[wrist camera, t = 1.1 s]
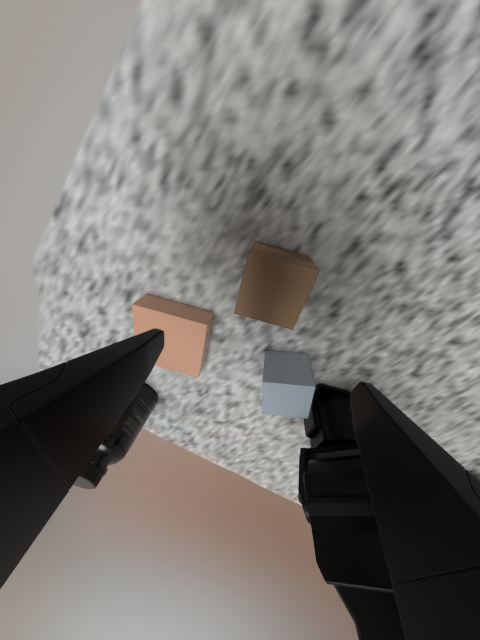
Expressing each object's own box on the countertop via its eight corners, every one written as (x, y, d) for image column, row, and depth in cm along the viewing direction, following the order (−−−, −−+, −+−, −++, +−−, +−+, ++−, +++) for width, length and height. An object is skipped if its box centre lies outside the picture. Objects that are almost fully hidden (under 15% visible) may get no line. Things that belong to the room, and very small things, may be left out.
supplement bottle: (118, 372, 30) (38, 458, 20) (160, 387, 30) (102, 478, 20) (119, 398, 34) (52, 481, 24) (156, 411, 34) (105, 499, 24)
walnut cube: (308, 255, 18) (319, 271, 13) (289, 303, 20) (292, 329, 16) (255, 240, 18) (248, 252, 13) (242, 290, 20) (233, 313, 16)
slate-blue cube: (307, 353, 23) (315, 386, 19) (302, 382, 25) (308, 418, 21) (265, 350, 24) (263, 382, 19) (264, 379, 26) (261, 413, 22)
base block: (214, 311, 22) (207, 325, 20) (205, 360, 27) (198, 377, 24) (148, 292, 22) (131, 304, 20) (149, 345, 27) (136, 360, 24)
